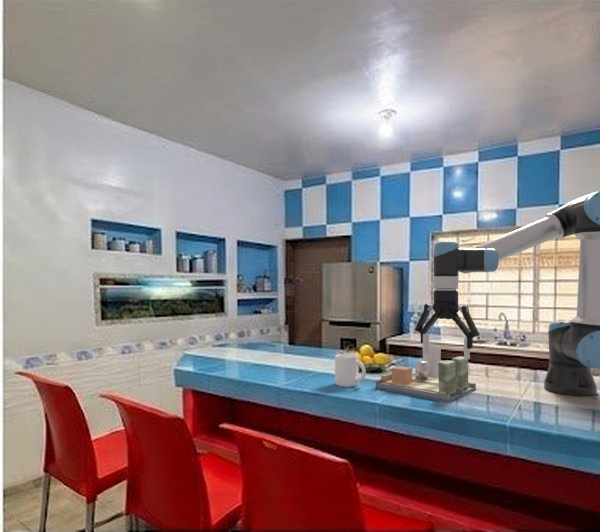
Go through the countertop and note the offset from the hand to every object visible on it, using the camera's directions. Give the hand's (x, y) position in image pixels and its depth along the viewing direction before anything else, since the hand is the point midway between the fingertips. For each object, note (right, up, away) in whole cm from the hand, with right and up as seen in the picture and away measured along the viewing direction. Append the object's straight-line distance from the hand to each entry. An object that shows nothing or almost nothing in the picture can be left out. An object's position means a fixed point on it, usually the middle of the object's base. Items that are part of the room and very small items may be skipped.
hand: (445, 356), depth 137 cm
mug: (-28, -14, +15) cm, 35 cm away
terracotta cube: (-11, -11, +10) cm, 19 cm away
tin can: (-3, -11, +17) cm, 20 cm away
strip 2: (0, -12, +14) cm, 19 cm away
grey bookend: (+6, -14, +30) cm, 34 cm away
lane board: (-3, -13, +10) cm, 17 cm away
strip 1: (-7, -12, +6) cm, 15 cm away
